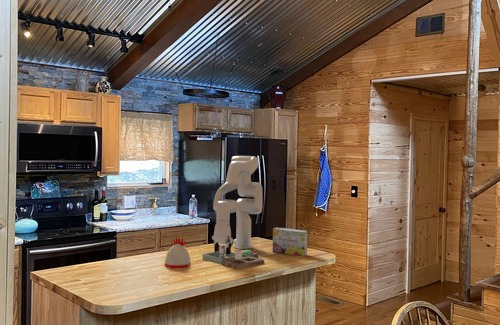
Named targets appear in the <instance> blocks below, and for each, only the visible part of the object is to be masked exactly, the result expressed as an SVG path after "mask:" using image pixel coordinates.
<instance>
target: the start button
mask: <svg viewBox="0 0 500 325" xmlns="http://www.w3.org/2000/svg"><path fill="white" fill-rule="evenodd" d="M243 252H244V254H245V255H250V254H251V252H252V250H250V249H243Z"/></svg>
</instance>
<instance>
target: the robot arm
mask: <svg viewBox="0 0 500 325" xmlns="http://www.w3.org/2000/svg"><path fill="white" fill-rule="evenodd" d="M230 161H231V162H230V163H229V165H228V170H227V174H226V179H225V183H223V184H222V185H221V186H220V187H219V188H218V189H217V191H216V193H215V195H214V198H213V204H212V205H213V206H212V208H213V210H214V211H215V212H216V217H215V218H216V221H215V226H214V232H213V235H212V236H211V239H212V242H213V245H214V247H213V248H214V251H213V252H218V251H219V245H220V244H221V245H226V254H231V252H232V249H231V248H232V246H233V248H235V249H236V250H250V249H253V248H254V244H252V218H251V216H250V215H258V214H261V213H262V211H263V186H262V184H261V183H260V182H259V181H257V182H256V181H255V182H253V181H252V178H251V176H252V174H253V173H254V172H255V171H256V170H257V169H258V168H259V158H257V157H256V155H255V156H254V155H253V156H252V155H235V156H232V157H231V159H230ZM236 189H237V194H238V196H240V197H246V198H238V199H237V200H235V199H226V198H225V199H222V198H223V196H224V195H226V194H227V193H229V192H232V191H234V190H236ZM233 213H236V229H235V230H236V232H235V233H236V234H235V236H236V237H235V239H234V238H232V231H231V230H232V229H231V225H230V219H231V218H230V217H231V216H230V214H233ZM234 243H235V244H234Z"/></svg>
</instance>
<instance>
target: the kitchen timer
mask: <svg viewBox="0 0 500 325" xmlns="http://www.w3.org/2000/svg"><path fill="white" fill-rule="evenodd" d="M170 243H171V246H170V248H169V249H168V251H167V252H166V256H165V259H164V266H166V268H168V267H169V269H185V268H188V267H190V265H191V258H190V254H189V251H188V250H187V248H186V247H185V243H186V240H185V241H184V238H181V239H180V237H179V238H177V237H175V239H173V242H172V241H170Z"/></svg>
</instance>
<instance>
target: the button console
mask: <svg viewBox="0 0 500 325" xmlns="http://www.w3.org/2000/svg"><path fill="white" fill-rule="evenodd" d="M242 255H243V257H247V256H251V257H255V258H259V253H256V252H252V251H251V254H250V255H245V254H244V251H242Z"/></svg>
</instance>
